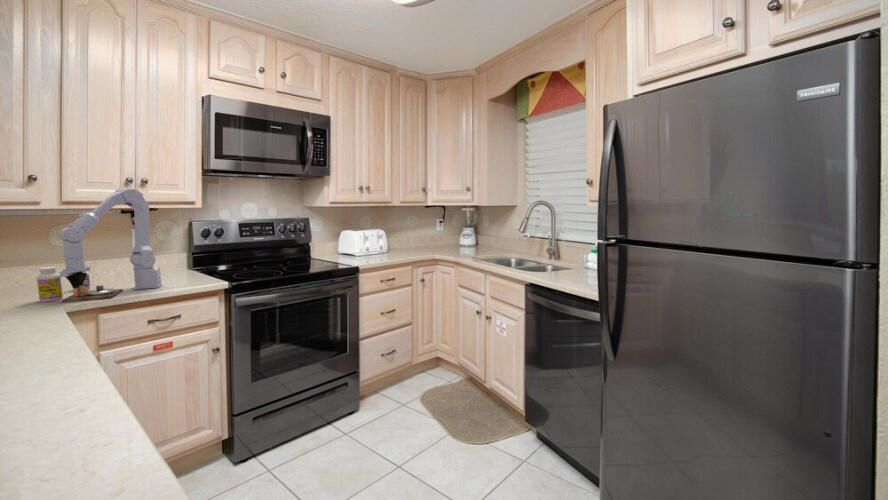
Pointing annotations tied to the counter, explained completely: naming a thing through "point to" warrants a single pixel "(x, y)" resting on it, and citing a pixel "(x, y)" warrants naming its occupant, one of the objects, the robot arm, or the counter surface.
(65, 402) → the counter surface
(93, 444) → the counter surface
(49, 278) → the supplement bottle
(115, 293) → the brown piece
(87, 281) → the pill bottle
